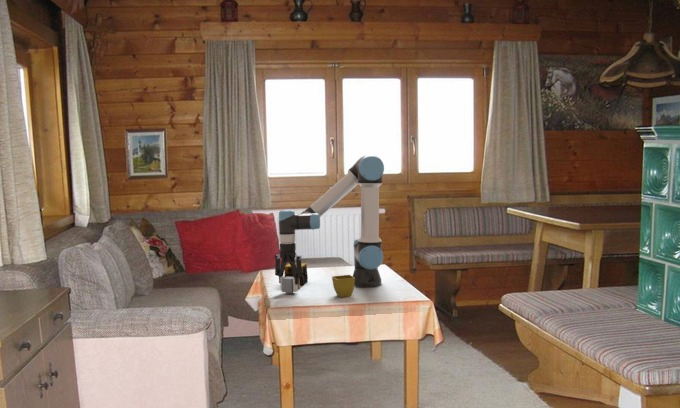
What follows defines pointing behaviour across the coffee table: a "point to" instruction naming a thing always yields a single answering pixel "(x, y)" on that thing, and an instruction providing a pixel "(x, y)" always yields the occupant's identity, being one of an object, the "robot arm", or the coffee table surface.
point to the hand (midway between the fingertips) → (289, 290)
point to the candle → (302, 278)
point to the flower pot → (343, 285)
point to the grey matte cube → (287, 284)
